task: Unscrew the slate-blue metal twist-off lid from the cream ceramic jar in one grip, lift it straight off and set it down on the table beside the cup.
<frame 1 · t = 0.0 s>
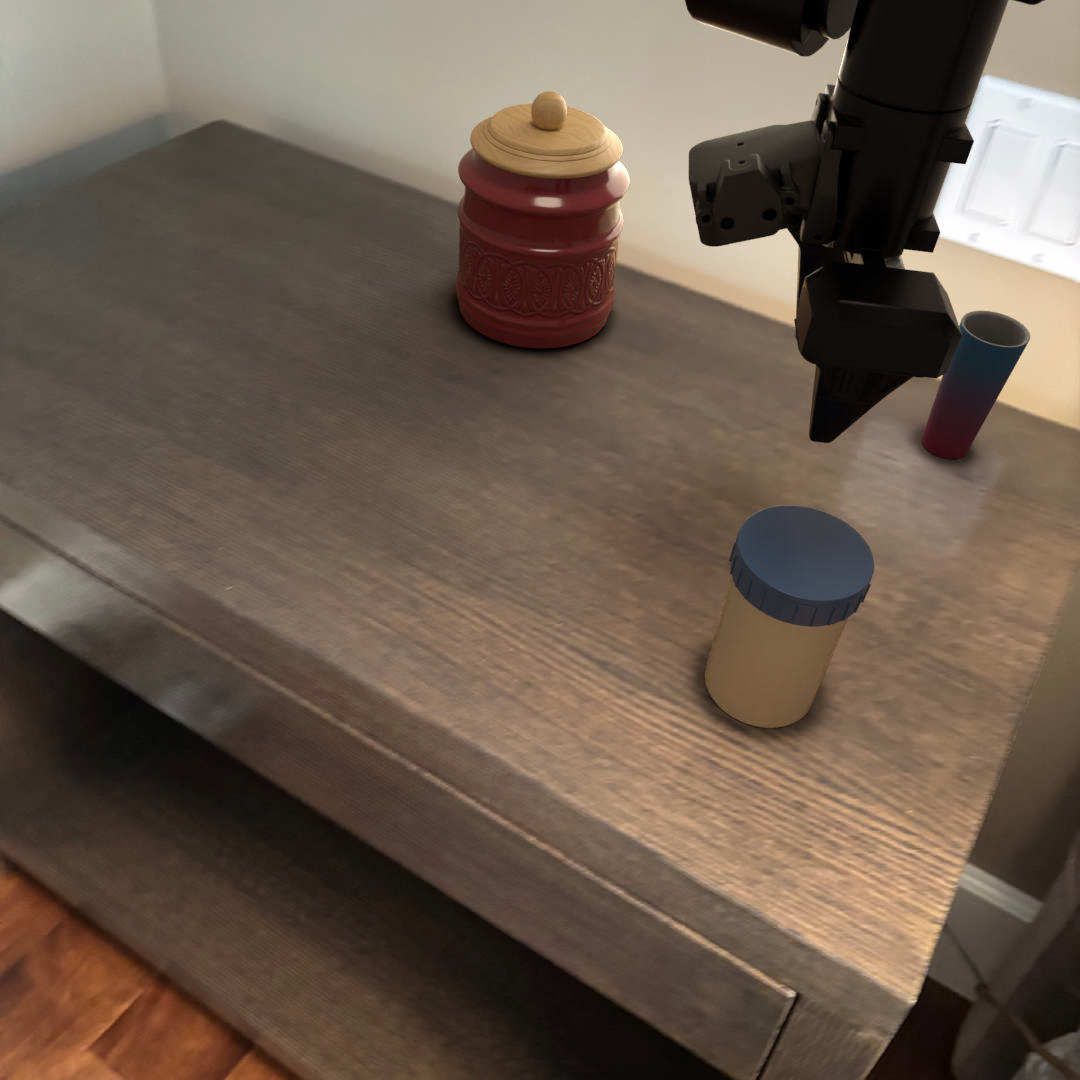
hand: (811, 387, 55), 14 cm above the table, tool pointing down, fingers open, 9 cm apart
cup: (943, 446, 76), on the table
kitchen canister: (533, 311, 85), on the table
jar: (758, 683, 58), on the table
lid: (803, 556, 51), point 10 cm above the table, screwed on, not yet turned
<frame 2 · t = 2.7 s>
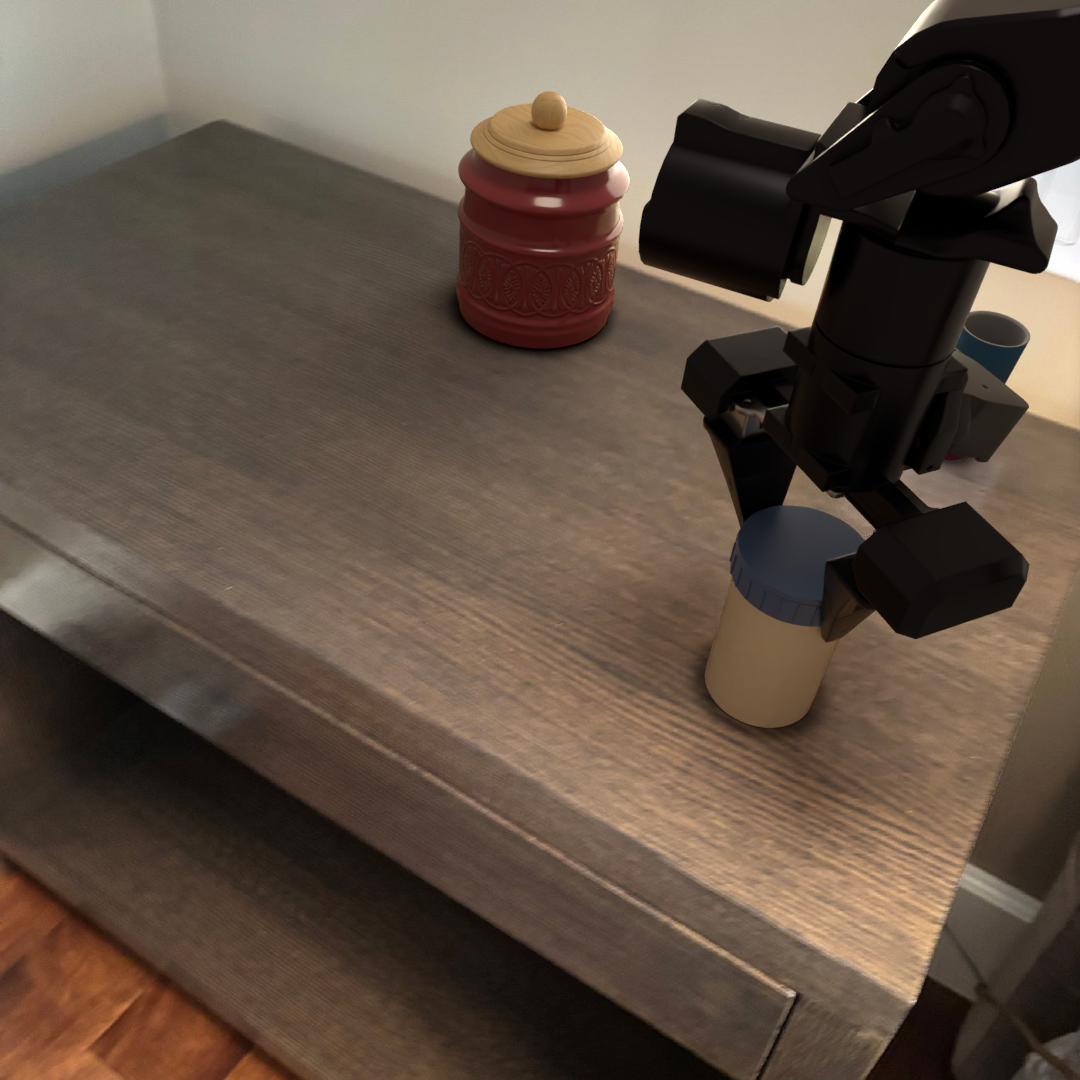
hand: (792, 590, 53), 8 cm above the table, tool pointing down, fingers closed on lid, 7 cm apart
lid: (803, 556, 51), point 10 cm above the table, screwed on, not yet turned, touching gripper
everything else where it was.
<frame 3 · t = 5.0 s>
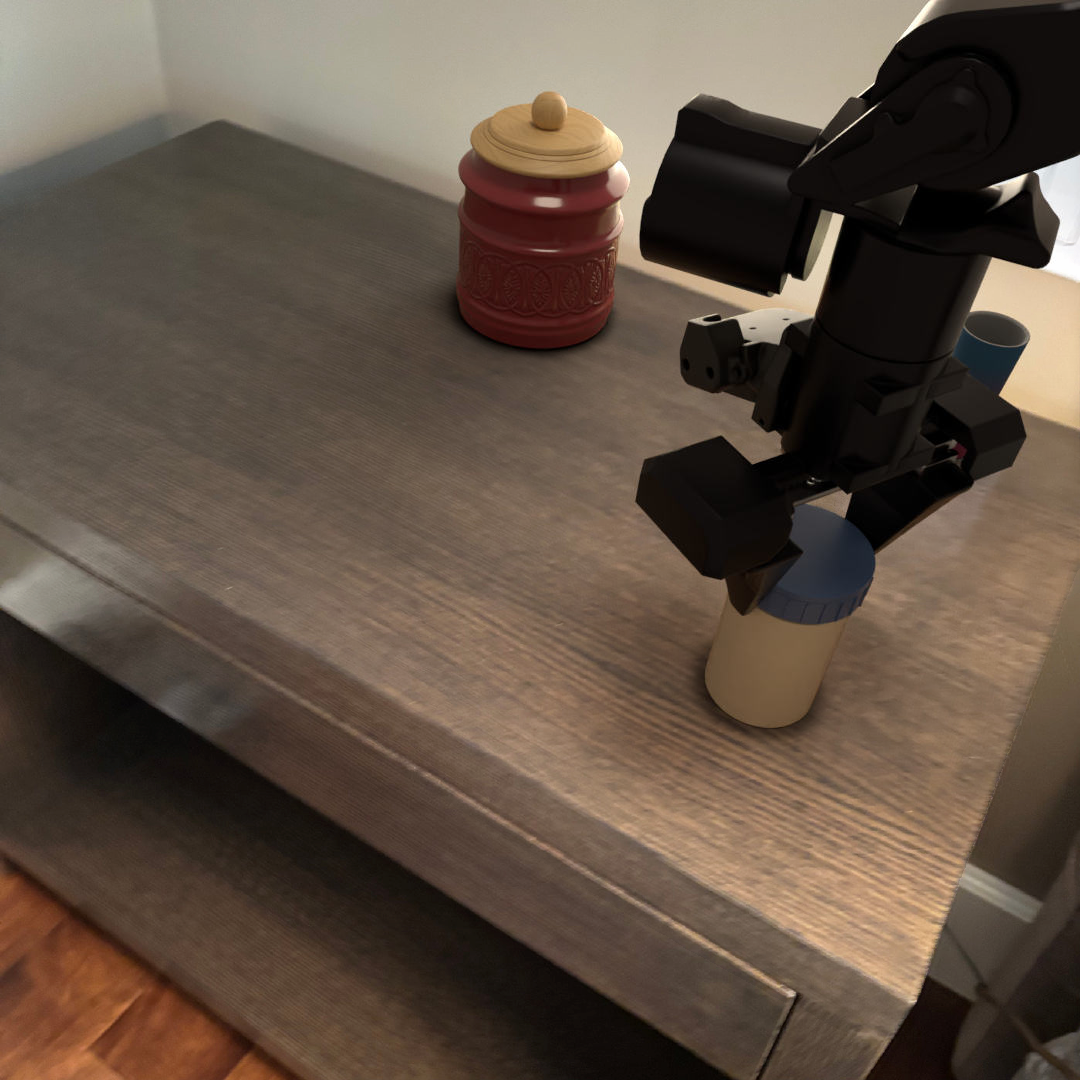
hand: (793, 587, 53), 8 cm above the table, tool pointing down, fingers closed on lid, 7 cm apart
lid: (804, 553, 51), point 10 cm above the table, off its thread, touching gripper
everything else where it was.
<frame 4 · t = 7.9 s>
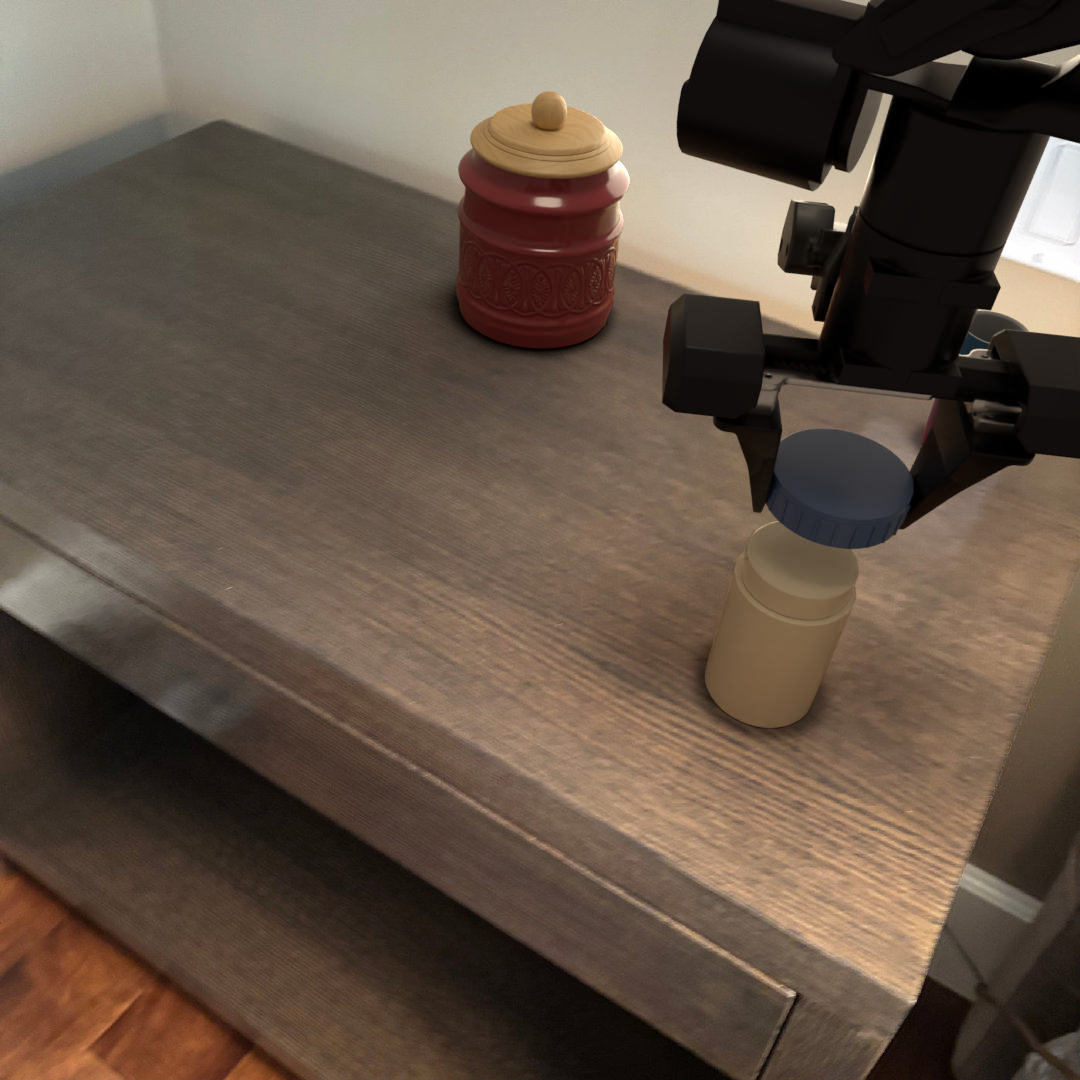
hand: (827, 515, 51), 12 cm above the table, tool pointing down, fingers closed on lid, 7 cm apart
lid: (839, 477, 49), point 14 cm above the table, off its thread, touching gripper
everything else where it was.
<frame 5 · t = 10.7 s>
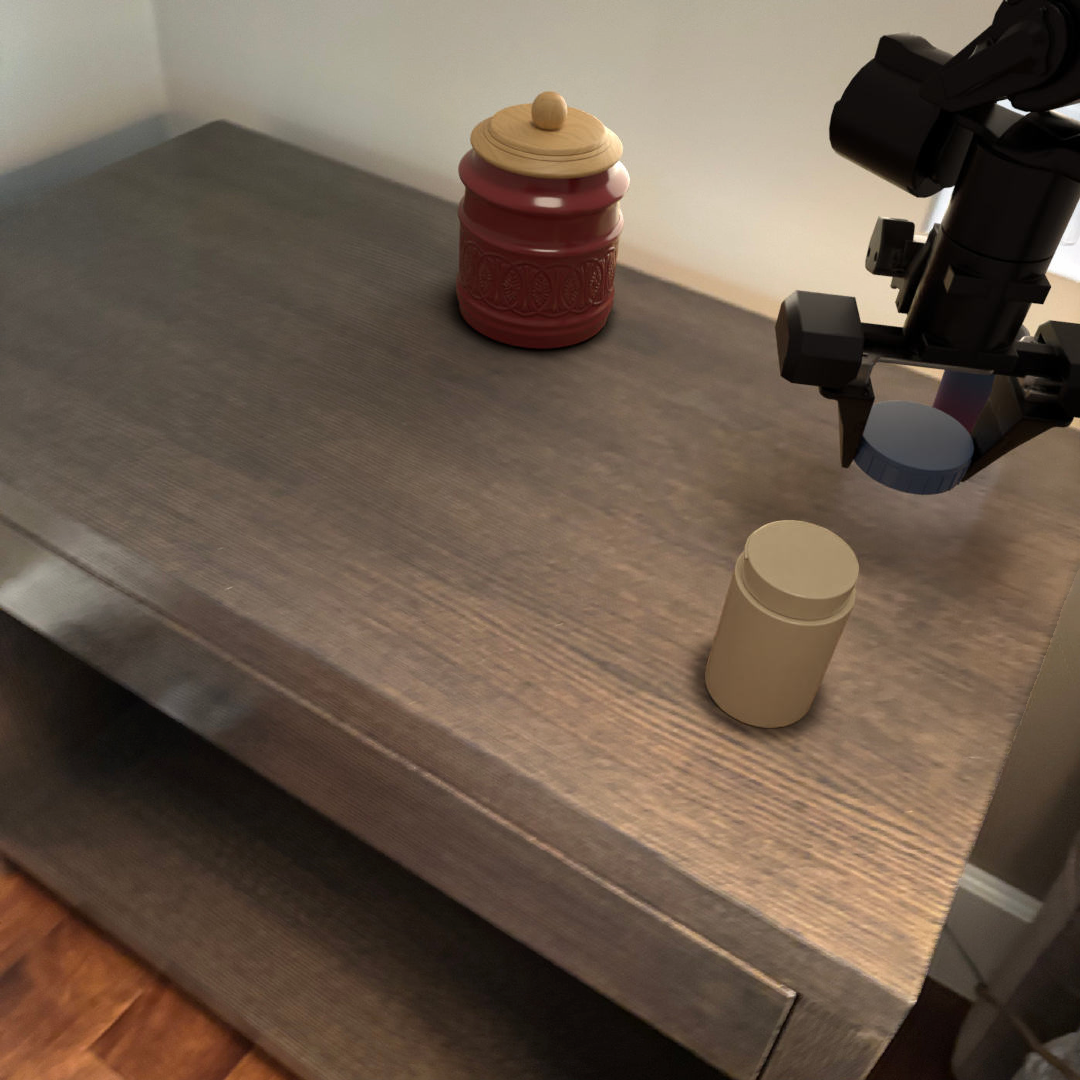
hand: (901, 470, 63), 6 cm above the table, tool pointing down, fingers closed on lid, 7 cm apart
lid: (913, 439, 61), point 9 cm above the table, off its thread, touching gripper
everything else where it was.
when the fingers open (0 cm above the table, at t = 13.2 s): lid stays where it is, point 1 cm above the table.
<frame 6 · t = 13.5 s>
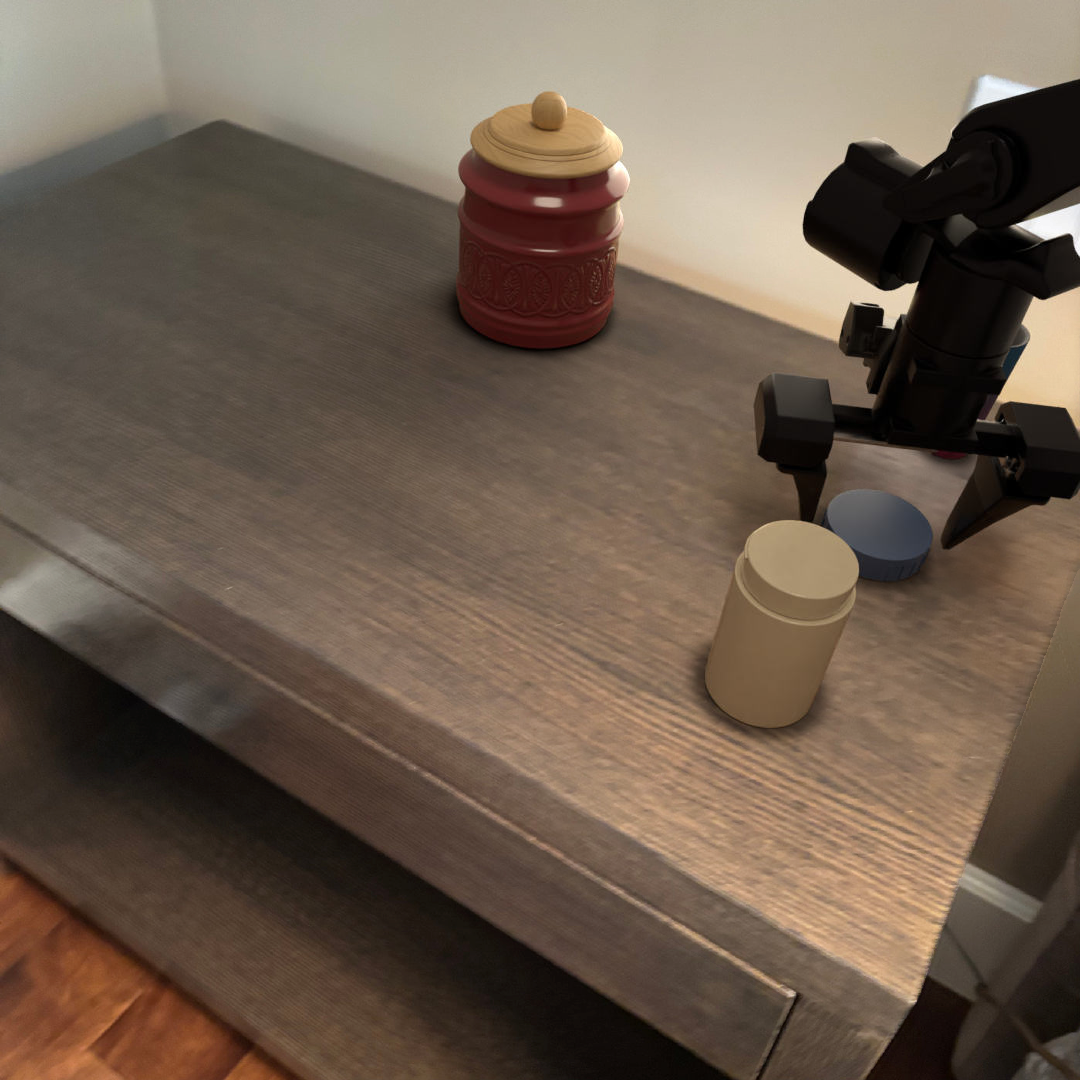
hand: (873, 536, 67), 1 cm above the table, tool pointing down, fingers open, 9 cm apart
lid: (877, 527, 66), point 1 cm above the table, off its thread
everything else where it was.
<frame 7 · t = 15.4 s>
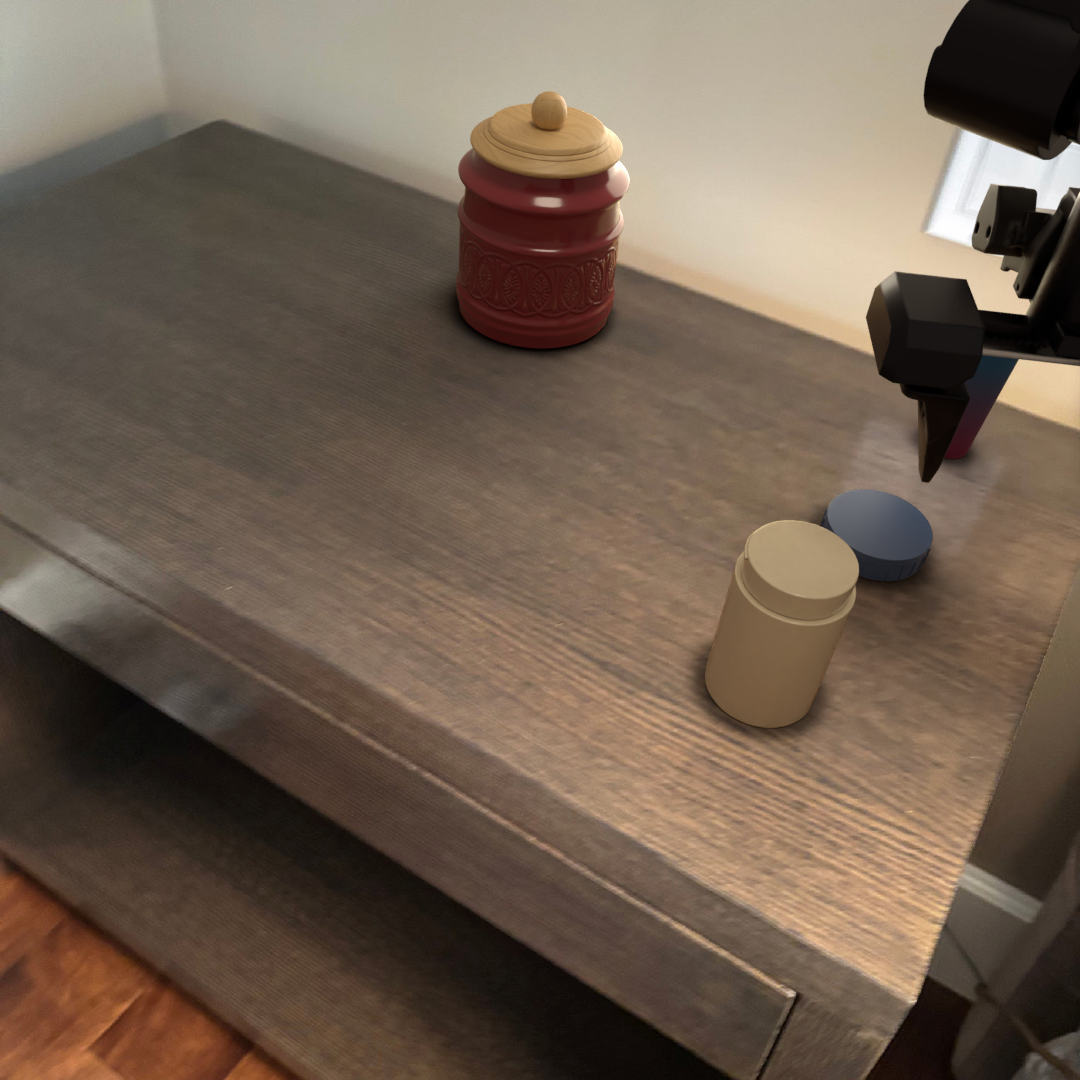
hand: (1013, 488, 53), 12 cm above the table, tool pointing down, fingers open, 9 cm apart
nothing on the table moved.
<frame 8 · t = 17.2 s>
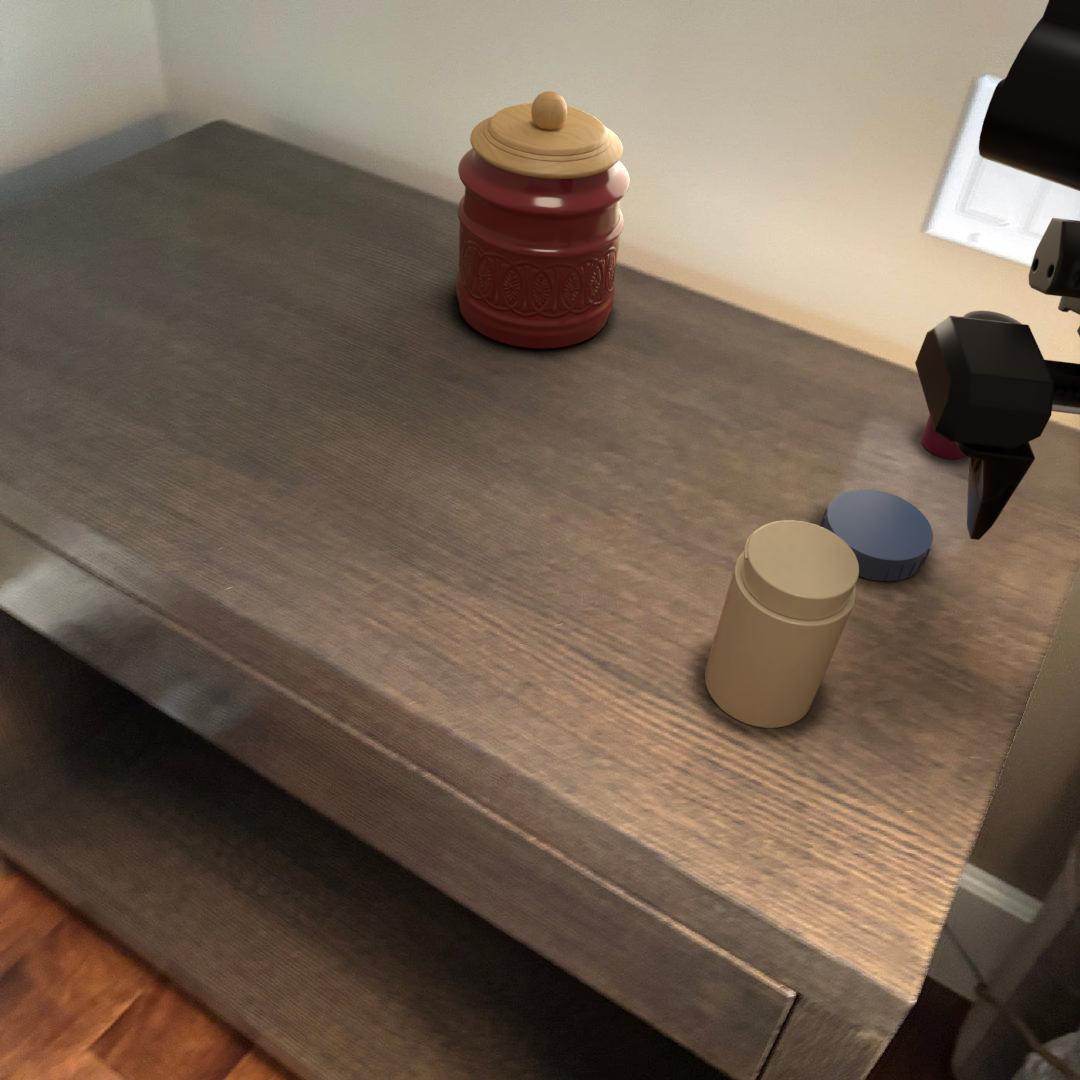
hand: (1069, 545, 49), 13 cm above the table, tool pointing down, fingers open, 9 cm apart
nothing on the table moved.
at the end: lid came off its thread; lid inside the target area on the table beside the cup (0.0 cm from its centre), point 1.7 cm above the table; the gripper is holding nothing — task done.
